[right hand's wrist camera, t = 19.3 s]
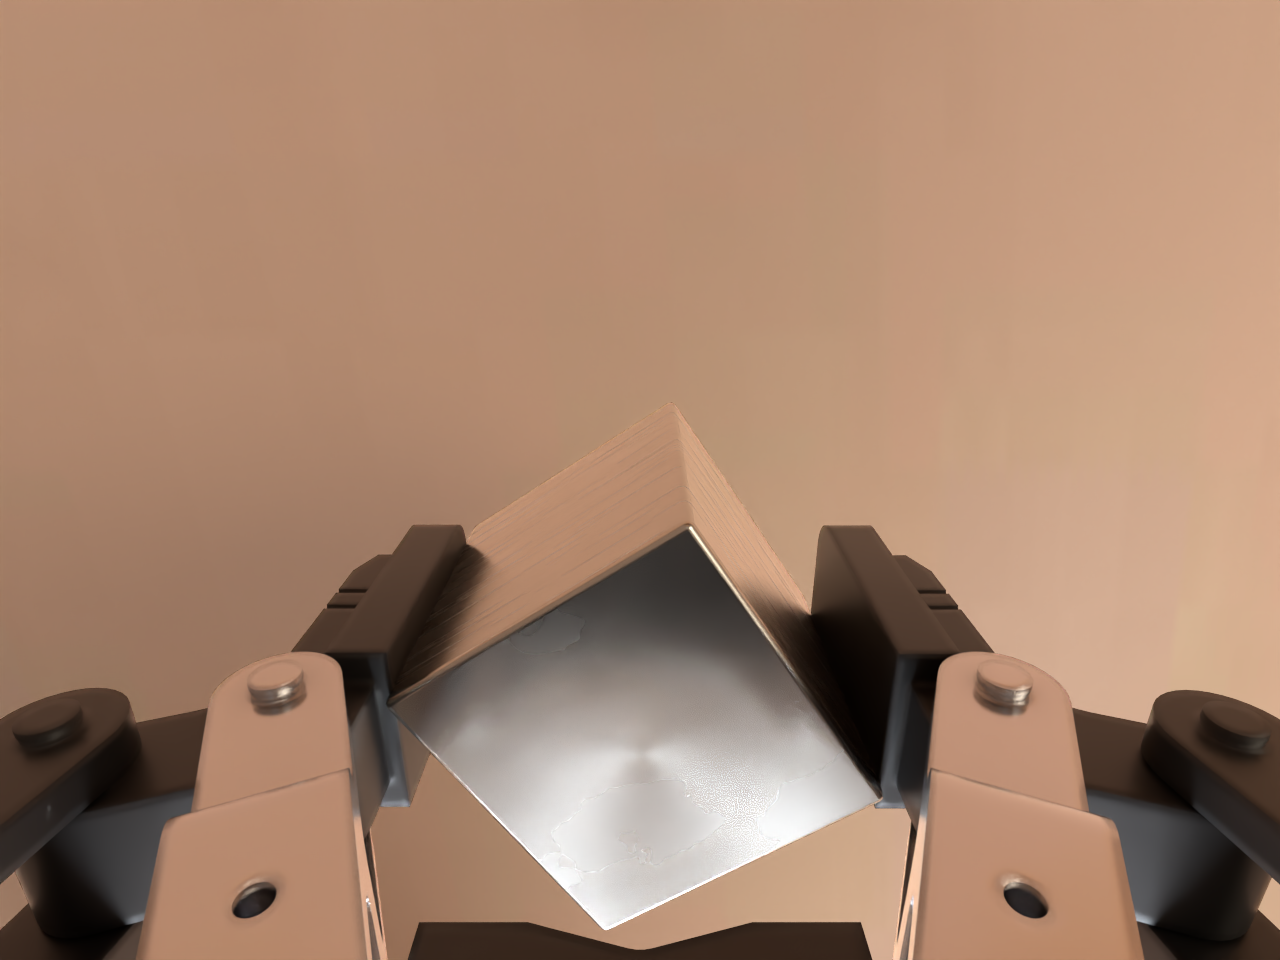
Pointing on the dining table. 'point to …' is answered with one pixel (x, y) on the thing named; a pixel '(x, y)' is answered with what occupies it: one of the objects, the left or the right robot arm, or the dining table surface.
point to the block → (634, 679)
